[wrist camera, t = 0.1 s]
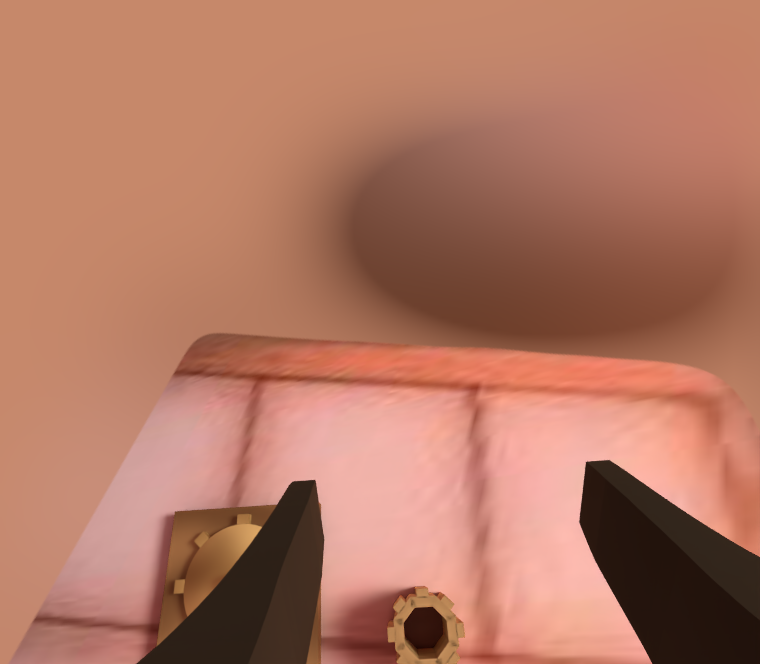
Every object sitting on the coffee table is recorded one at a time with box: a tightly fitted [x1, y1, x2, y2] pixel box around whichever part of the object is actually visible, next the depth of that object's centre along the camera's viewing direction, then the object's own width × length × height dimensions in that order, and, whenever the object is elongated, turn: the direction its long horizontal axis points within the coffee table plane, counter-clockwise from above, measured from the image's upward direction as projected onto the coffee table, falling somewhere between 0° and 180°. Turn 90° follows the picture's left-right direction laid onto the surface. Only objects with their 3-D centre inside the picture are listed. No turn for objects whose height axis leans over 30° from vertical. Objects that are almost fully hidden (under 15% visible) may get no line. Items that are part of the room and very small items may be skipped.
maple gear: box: [387, 586, 465, 664], centre depth 36 cm, size 6×6×5 cm
